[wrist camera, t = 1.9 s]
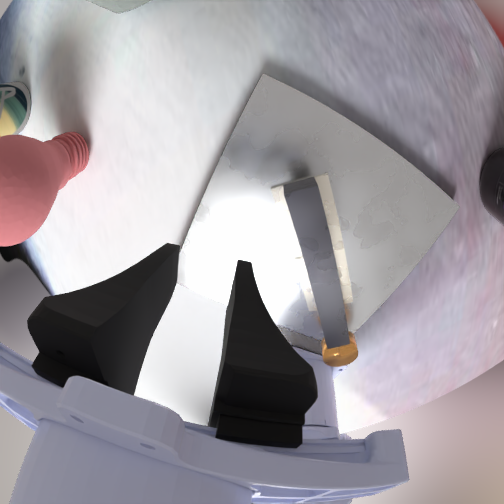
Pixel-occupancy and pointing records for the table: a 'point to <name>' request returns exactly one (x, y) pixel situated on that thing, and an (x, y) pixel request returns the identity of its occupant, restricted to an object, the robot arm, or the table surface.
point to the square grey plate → (334, 202)
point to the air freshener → (119, 4)
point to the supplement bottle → (493, 185)
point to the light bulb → (34, 180)
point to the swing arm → (321, 269)
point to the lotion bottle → (13, 108)
